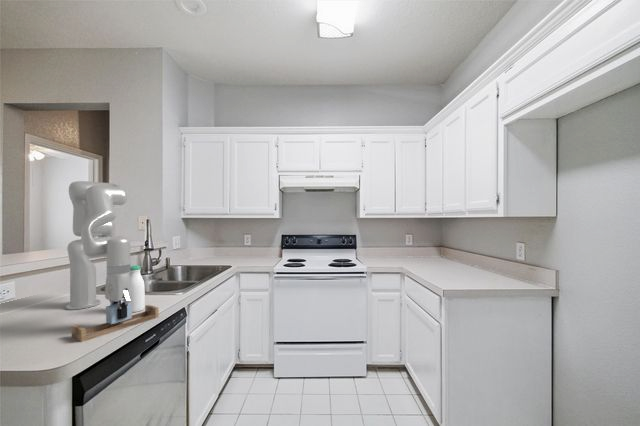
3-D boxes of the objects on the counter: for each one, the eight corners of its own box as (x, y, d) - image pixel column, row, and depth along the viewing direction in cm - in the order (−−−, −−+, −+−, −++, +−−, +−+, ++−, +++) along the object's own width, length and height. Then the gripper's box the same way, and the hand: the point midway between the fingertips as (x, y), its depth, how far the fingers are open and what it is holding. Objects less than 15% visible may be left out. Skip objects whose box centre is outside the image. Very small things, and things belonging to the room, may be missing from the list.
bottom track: (71, 337, 100) (71, 325, 100) (148, 314, 123) (148, 304, 123) (81, 341, 96) (81, 330, 96) (158, 317, 119) (158, 307, 119)
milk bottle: (148, 307, 131) (148, 264, 131) (138, 313, 124) (138, 267, 124) (131, 307, 131) (131, 264, 131) (120, 313, 123) (120, 267, 123)
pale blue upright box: (106, 322, 107) (106, 306, 107) (126, 316, 113) (126, 301, 113) (111, 324, 105) (111, 308, 105) (131, 318, 111) (131, 302, 111)
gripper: (96, 269, 110) (97, 317, 110) (119, 273, 102) (119, 324, 102) (118, 266, 117) (118, 311, 116) (140, 270, 108) (141, 317, 108)
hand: (119, 316), depth 109 cm, fingers closed on pale blue upright box, 4 cm apart
